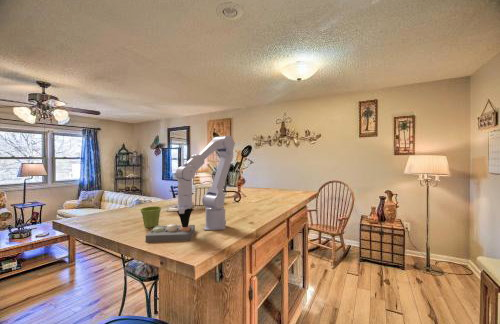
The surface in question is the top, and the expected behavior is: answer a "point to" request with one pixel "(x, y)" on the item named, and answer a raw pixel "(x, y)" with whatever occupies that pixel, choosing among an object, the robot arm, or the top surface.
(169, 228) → the button ivory
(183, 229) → the button terracotta
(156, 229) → the button sage
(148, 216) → the plant pot
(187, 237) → the button box
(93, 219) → the top surface
